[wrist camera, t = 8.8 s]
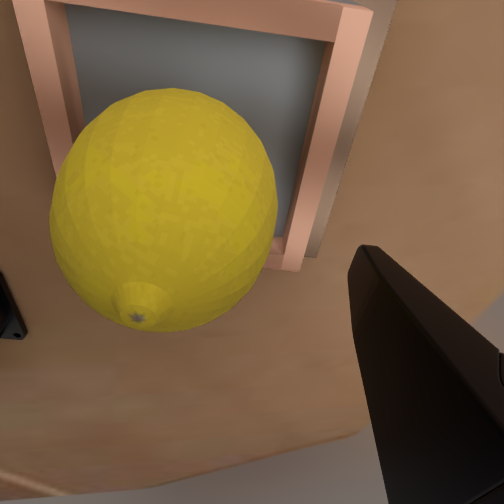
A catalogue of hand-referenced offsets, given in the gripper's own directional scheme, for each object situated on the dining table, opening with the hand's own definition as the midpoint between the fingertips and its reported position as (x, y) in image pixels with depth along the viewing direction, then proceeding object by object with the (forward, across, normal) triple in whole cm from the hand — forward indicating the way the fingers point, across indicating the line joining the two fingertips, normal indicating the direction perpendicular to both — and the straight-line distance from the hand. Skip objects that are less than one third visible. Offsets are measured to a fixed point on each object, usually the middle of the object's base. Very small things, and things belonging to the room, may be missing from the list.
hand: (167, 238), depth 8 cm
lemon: (+6, 0, 0) cm, 6 cm away
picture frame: (+9, 0, 0) cm, 9 cm away
